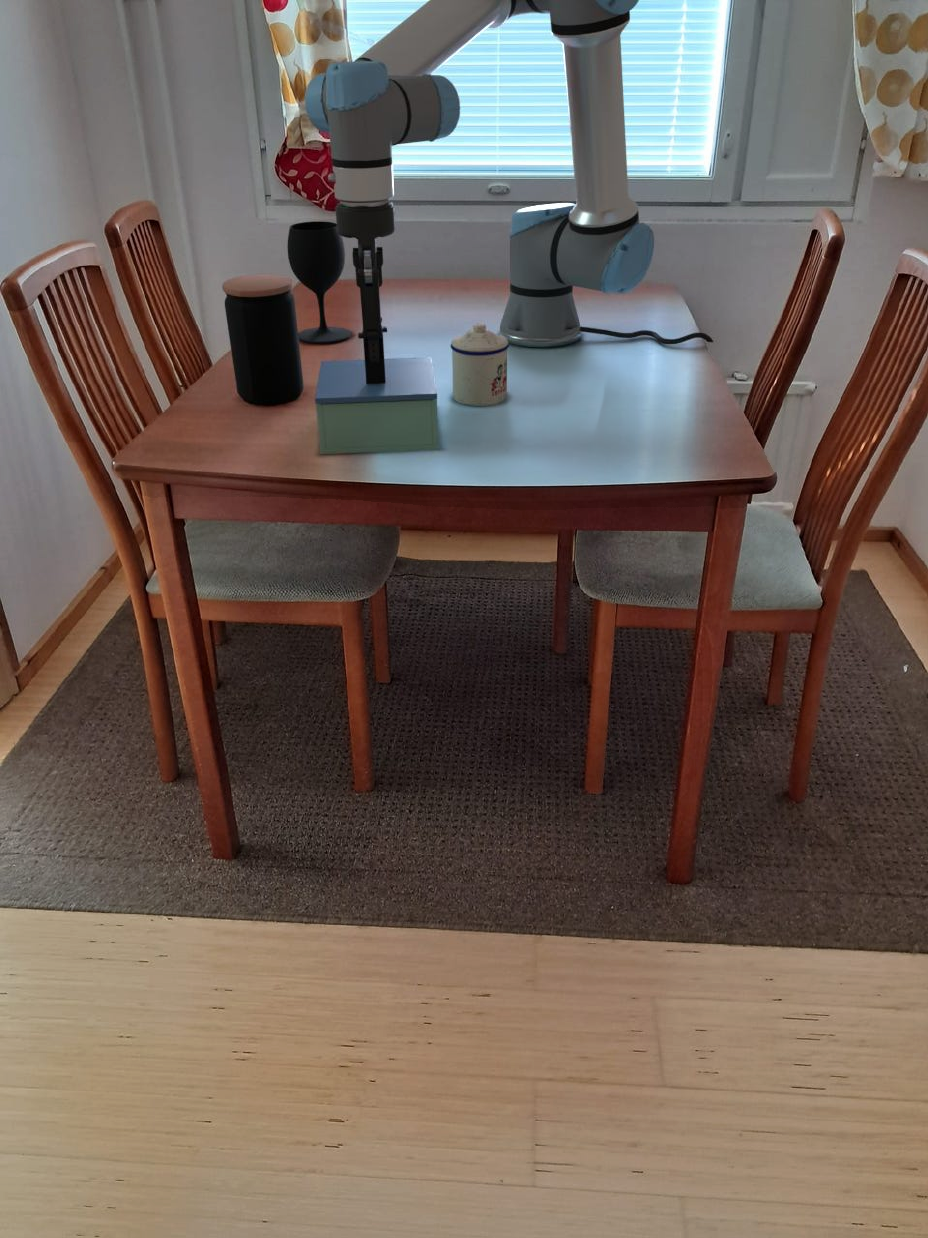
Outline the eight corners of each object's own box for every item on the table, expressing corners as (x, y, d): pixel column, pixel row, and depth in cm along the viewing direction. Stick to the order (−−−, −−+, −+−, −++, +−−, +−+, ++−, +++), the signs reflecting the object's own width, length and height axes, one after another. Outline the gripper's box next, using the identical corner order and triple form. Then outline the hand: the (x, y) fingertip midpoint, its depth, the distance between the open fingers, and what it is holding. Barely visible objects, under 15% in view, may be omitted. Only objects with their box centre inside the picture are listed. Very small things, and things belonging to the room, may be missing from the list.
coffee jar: (316, 388, 158) (304, 276, 149) (285, 410, 150) (271, 292, 140) (258, 382, 161) (244, 271, 152) (225, 403, 153) (208, 287, 143)
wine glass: (286, 341, 181) (273, 229, 171) (314, 326, 189) (303, 218, 179) (335, 346, 178) (325, 232, 167) (360, 331, 186) (352, 221, 175)
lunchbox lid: (437, 399, 131) (437, 393, 131) (315, 404, 130) (314, 398, 130) (431, 362, 146) (431, 356, 146) (321, 366, 145) (321, 360, 145)
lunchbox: (438, 449, 136) (436, 399, 132) (321, 454, 135) (315, 404, 131) (432, 408, 150) (431, 362, 146) (326, 412, 149) (321, 366, 145)
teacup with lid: (503, 408, 149) (503, 333, 143) (446, 405, 151) (444, 331, 145) (514, 383, 159) (516, 312, 153) (461, 380, 161) (460, 310, 154)
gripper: (336, 193, 127) (350, 368, 140) (333, 211, 116) (348, 398, 129) (393, 192, 128) (401, 366, 140) (394, 209, 117) (403, 396, 129)
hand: (376, 381), depth 135 cm, fingers closed
